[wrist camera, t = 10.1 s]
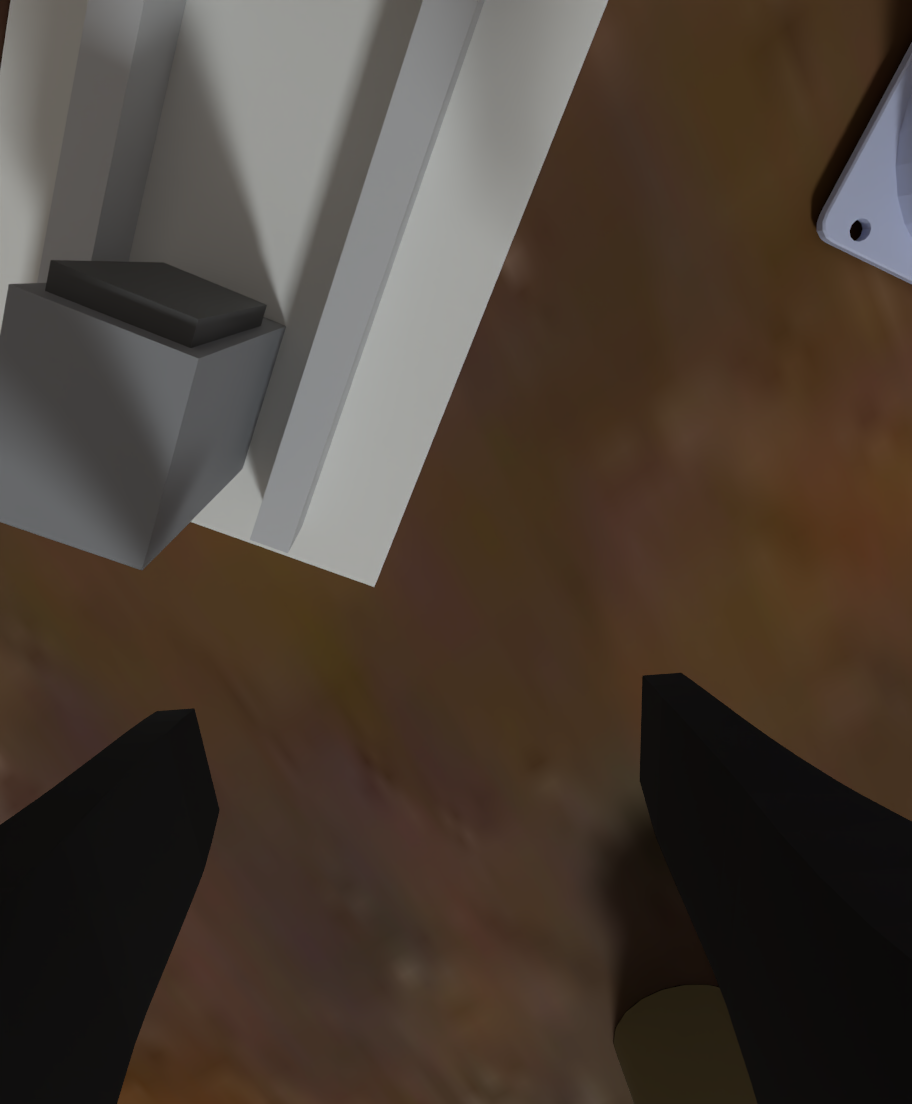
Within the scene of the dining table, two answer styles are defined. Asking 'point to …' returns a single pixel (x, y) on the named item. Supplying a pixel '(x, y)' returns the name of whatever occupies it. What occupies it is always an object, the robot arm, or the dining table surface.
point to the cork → (682, 1049)
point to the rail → (255, 255)
